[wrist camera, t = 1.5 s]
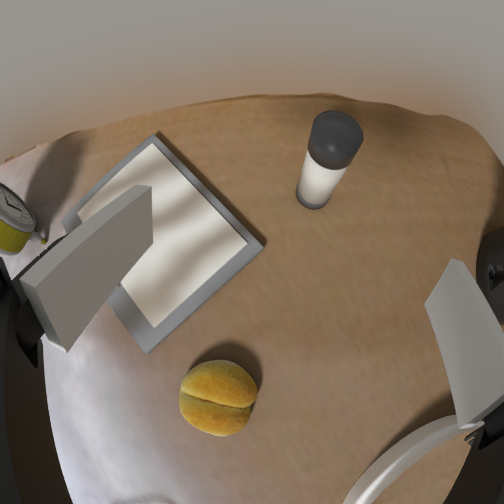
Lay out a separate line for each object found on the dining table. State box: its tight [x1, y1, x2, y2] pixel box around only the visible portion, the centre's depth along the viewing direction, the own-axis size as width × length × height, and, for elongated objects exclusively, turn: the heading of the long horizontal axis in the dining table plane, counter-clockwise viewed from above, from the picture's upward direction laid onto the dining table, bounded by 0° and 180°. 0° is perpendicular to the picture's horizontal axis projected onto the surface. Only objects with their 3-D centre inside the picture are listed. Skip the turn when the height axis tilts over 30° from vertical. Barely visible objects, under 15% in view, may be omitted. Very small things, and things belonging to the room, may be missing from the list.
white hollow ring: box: [343, 415, 485, 504], centre depth 21 cm, size 27×27×5 cm
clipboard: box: [61, 134, 264, 354], centre depth 31 cm, size 22×18×2 cm
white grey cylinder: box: [296, 111, 363, 209], centre depth 26 cm, size 4×4×13 cm
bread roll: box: [179, 360, 258, 436], centre depth 26 cm, size 8×9×4 cm
